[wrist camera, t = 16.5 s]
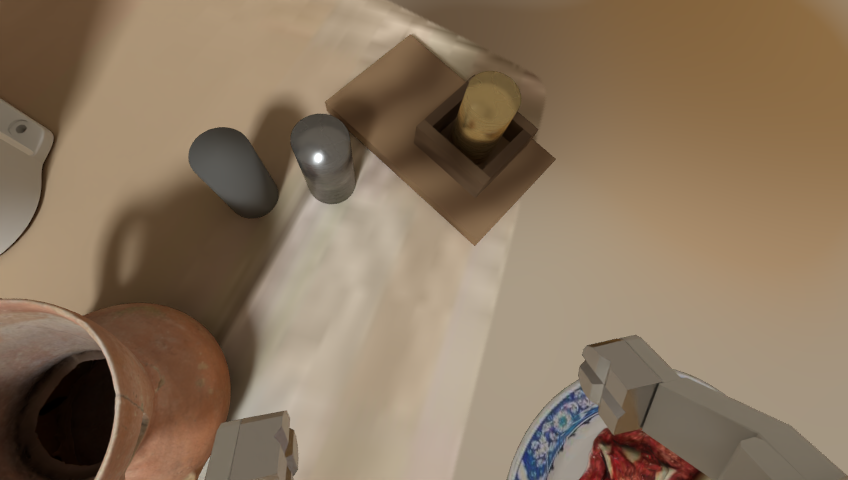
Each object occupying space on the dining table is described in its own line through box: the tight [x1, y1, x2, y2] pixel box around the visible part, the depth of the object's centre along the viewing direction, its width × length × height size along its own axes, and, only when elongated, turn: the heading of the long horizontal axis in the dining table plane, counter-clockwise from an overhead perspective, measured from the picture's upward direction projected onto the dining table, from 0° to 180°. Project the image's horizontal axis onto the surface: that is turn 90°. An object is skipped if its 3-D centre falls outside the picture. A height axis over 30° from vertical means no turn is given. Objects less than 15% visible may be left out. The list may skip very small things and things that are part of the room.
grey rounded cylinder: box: [189, 127, 278, 218], centre depth 33 cm, size 4×4×8 cm
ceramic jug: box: [0, 298, 231, 480], centre depth 25 cm, size 18×14×14 cm
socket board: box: [325, 35, 555, 246], centre depth 38 cm, size 20×12×4 cm, turn 47°
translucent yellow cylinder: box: [448, 71, 521, 165], centre depth 35 cm, size 4×4×8 cm
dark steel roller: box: [291, 114, 355, 204], centre depth 34 cm, size 4×4×8 cm
